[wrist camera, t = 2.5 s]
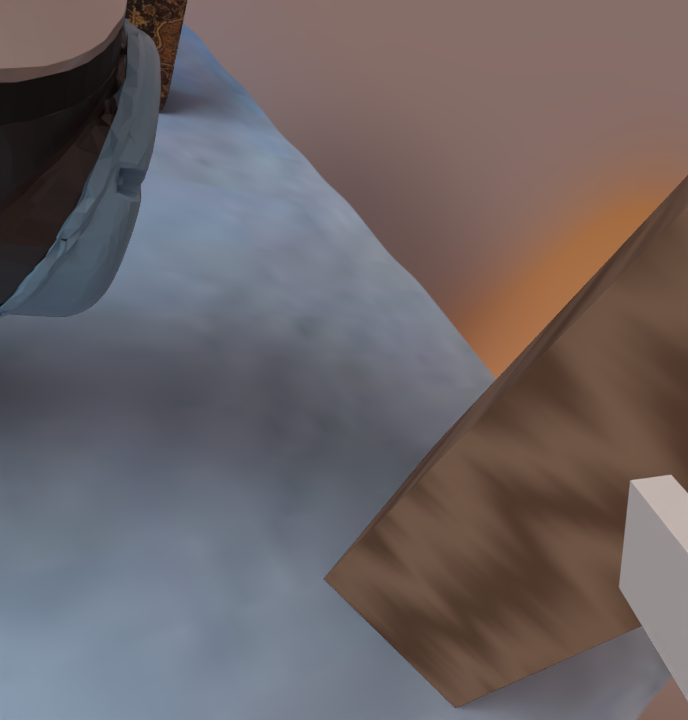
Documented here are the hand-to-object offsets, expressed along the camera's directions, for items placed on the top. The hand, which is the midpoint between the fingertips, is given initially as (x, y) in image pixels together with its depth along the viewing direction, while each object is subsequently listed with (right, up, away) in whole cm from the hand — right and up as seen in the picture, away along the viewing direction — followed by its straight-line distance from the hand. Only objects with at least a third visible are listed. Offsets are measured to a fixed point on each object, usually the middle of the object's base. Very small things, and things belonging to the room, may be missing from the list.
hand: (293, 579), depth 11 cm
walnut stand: (+8, -9, +28) cm, 30 cm away
